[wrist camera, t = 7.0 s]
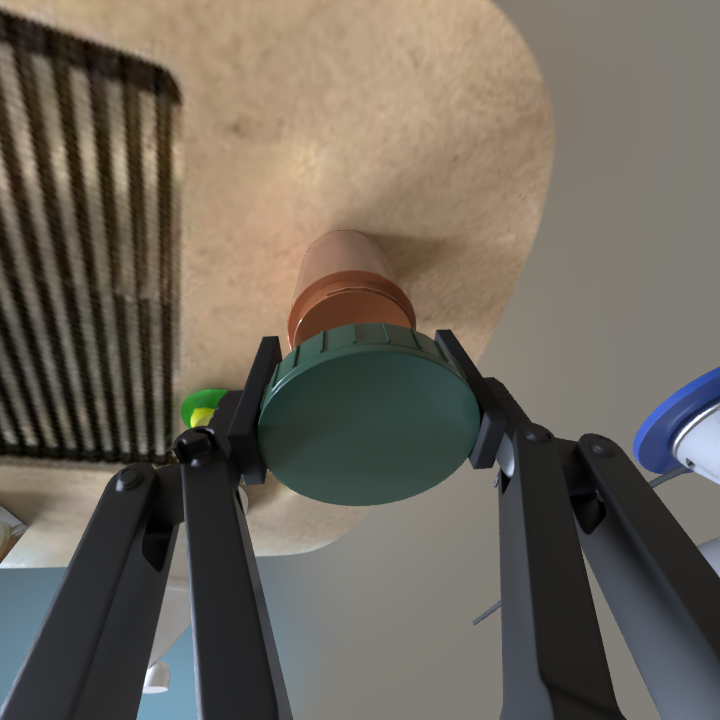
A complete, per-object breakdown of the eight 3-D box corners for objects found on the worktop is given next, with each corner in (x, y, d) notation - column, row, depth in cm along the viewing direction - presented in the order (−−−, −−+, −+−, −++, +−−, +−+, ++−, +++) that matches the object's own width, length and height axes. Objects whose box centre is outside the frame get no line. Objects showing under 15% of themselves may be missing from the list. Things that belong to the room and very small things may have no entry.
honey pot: (267, 496, 43) (235, 676, 28) (215, 533, 47) (164, 707, 32) (180, 458, 37) (82, 661, 22) (130, 504, 41) (20, 701, 27)
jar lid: (320, 278, 10) (318, 302, 8) (505, 374, 12) (530, 406, 11) (237, 440, 13) (224, 479, 12) (393, 486, 16) (399, 522, 14)
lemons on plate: (178, 428, 34) (167, 448, 32) (189, 376, 30) (178, 394, 28) (249, 444, 37) (244, 464, 34) (268, 397, 33) (264, 416, 31)
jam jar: (396, 304, 28) (431, 382, 18) (317, 326, 29) (312, 413, 19) (377, 217, 24) (411, 261, 14) (285, 245, 24) (258, 306, 15)
